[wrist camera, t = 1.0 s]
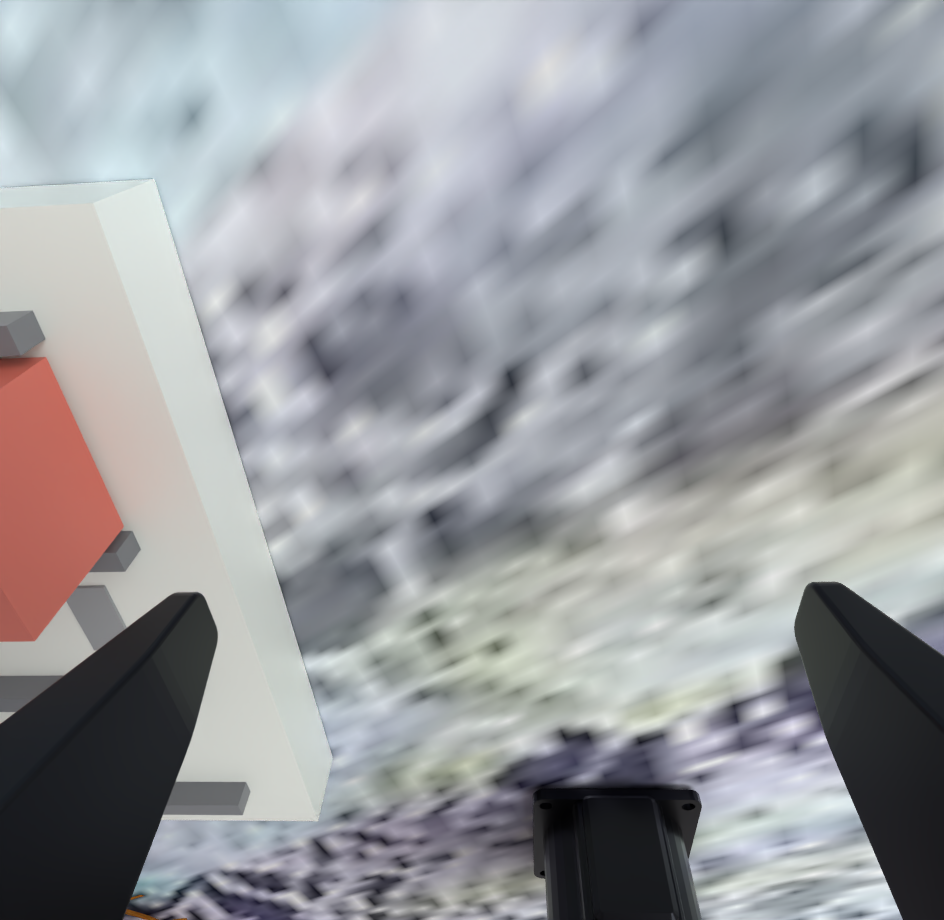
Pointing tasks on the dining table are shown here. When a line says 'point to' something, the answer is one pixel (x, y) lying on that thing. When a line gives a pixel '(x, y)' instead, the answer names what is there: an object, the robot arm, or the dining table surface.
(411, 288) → the dining table surface
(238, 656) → the white flat slab
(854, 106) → the dining table surface
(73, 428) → the red switch
